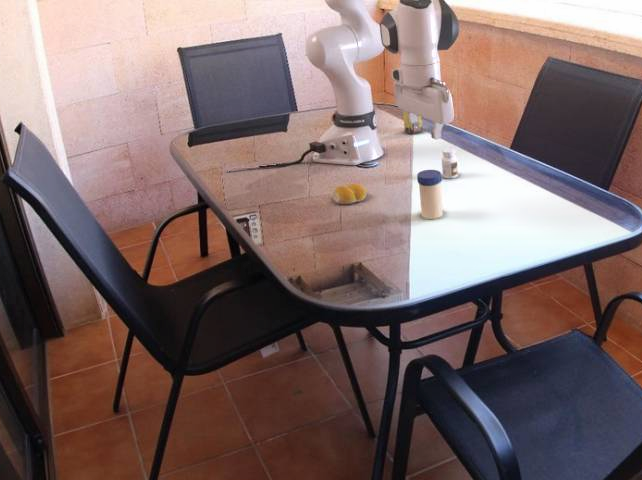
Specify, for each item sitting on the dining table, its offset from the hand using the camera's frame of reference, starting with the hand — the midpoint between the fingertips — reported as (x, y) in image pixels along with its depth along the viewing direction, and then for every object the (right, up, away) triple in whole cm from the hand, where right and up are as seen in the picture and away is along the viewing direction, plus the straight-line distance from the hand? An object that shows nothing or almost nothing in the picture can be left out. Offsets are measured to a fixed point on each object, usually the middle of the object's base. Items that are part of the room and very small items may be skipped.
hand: (425, 134), depth 159 cm
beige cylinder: (+1, -18, +11) cm, 21 cm away
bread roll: (-22, -12, +23) cm, 34 cm away
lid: (+1, -9, +6) cm, 10 cm away
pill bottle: (+5, -3, +34) cm, 34 cm away
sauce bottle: (-8, +20, +71) cm, 74 cm away
